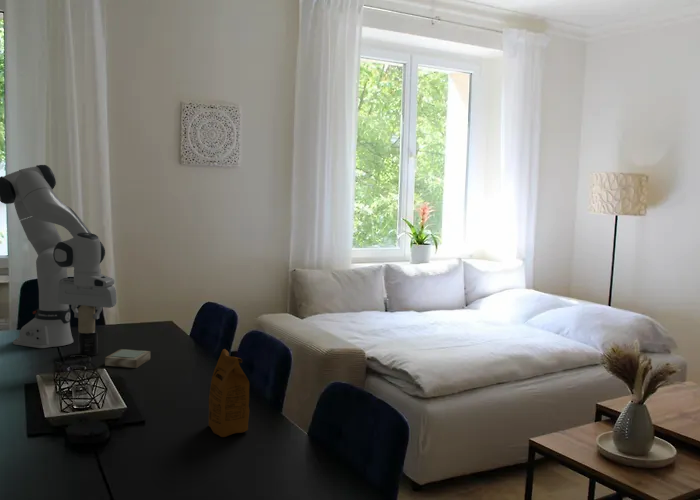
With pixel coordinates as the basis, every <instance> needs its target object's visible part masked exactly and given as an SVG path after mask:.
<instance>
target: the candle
mask: <svg viewBox="0 0 700 500" xmlns="http://www.w3.org/2000/svg"><path fill="white" fill-rule="evenodd" d="M77 309H78V318H77V319H78V320H77V321H78V322H77V325H78V326H77V328H78V329H77V331H78V334H79V333H92V332H95V330H96V319H93V314H95V313H96V307H94V306H86V305H83V306H81V305H79V306H78V307H77Z"/></svg>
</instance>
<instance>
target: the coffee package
mask: <svg viewBox="0 0 700 500" xmlns="http://www.w3.org/2000/svg"><path fill="white" fill-rule="evenodd" d="M221 350H222V351H221V353H220V355H219V358H218V360H217V362H216V365H215V367H214V370H213V373H212V376H211V381H210V387H209V396H208V427H210V429H211V431H212V433H213V434H214V435H217V436H219V437H221V438H226V437H229V436H231V435H234V434H241V433H245V432H246V431H248V430H249V421H250V420H249V418H250V407H249V404H250V381H249V379H248V377H247V375H246V373H245V372H244V371H243V369H242V367H241V364H242V363H243V359H242V358H240V357H236V356H231V355H230V353H229V351H228V350H227V349H226V348H224V349H221Z"/></svg>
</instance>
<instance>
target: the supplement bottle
mask: <svg viewBox="0 0 700 500" xmlns="http://www.w3.org/2000/svg"><path fill="white" fill-rule="evenodd" d="M98 339H99V338H98V331H97V330H96V329H95V332H92V333H79V332H78V355H79V354H80V355H91V356H90V357H93V356H96V355H98V354H99V353H98V351H99V348H98V347H99V345H98V343H99V341H98ZM80 355H79V356H80Z"/></svg>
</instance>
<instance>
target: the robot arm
mask: <svg viewBox="0 0 700 500" xmlns="http://www.w3.org/2000/svg"><path fill="white" fill-rule="evenodd" d="M56 180H57V179H56V175H55V173H54V171H53V170H52V169H51V167H50V166H48V165H46V164H39V165H38V164H37V165H36V166H30V167H26V168H23V169H19V170H18V171H13V172H11V173H9V174H8V173H7V174H6V175H4V176H0V203H1V204H4V205H11V204H14V208H15V212H16V215H17V217H18V221H20V224H21V227H22V229H23V232H24V233H25V236H26V238H27V240H28V241H29V243H30V244H31V246H32V247H33V249H34V251H35V252H36V254H37V257H36V260H35V263H36V264H35V266H36V278H37V286H38V308H37V309H35V310H33V311H32V314H33V315H34V318H32V319H31V320H29V321H28V322H27V323H26V324H25V325H23V326H22V327H21V328H20V329H19V330H20V331H19V336H18V337H17V338H15V339H14V340H12V341H13V342H12V345H16V346H22V347H23V346H24V347H30V348H37V349H47V348H52V347H53V348H54V347H62V346H66V345H71V344H72V343H74V338H73V336H72V335H73V334H72V331H71V310H72V311H73V313H74V318H76V319H78V308H79V306H83V305H86V306H94V307H95V314H93V319H95V320H98V319H100V314H101V312H102V311H103V308H108V309H109V308H113V307H115V306H116V305H117V289H116V288H115V287H114V286H113V285H115V279H114V278H112V277H110V276H107V275H105V274H103V273H102V270H101V265H100V264H101V263H103V260H104V259H105V256H106V249H105V246H104V245H103V243H102V242H101V240H100V237H99V236H98V235H97V234H94V233H92V232H91V231H90V230H89V228H88V227H87V225H85V223H84V222H83V221H82V219H81V218H80V217H79V216H78V214H77V213H76V212H75V211H74V209H72V208H71V207H69V206H68V205H66V204H65V203H64V202H63V201H62V200H61V199H60V198H59V197H58V196H57V194H56V193H55V192H54V189H55V187H56V185H57V181H56ZM56 225H57V226H61V227H63V229H66V230H67V231H68V233H69V234H70V235H71V236H72V238H70V239H67V240H63V238H62V237H61V235H60V233H59V232H58V229H57V227H56ZM68 268H73V278H72V277H70V278H69V277H68Z"/></svg>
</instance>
